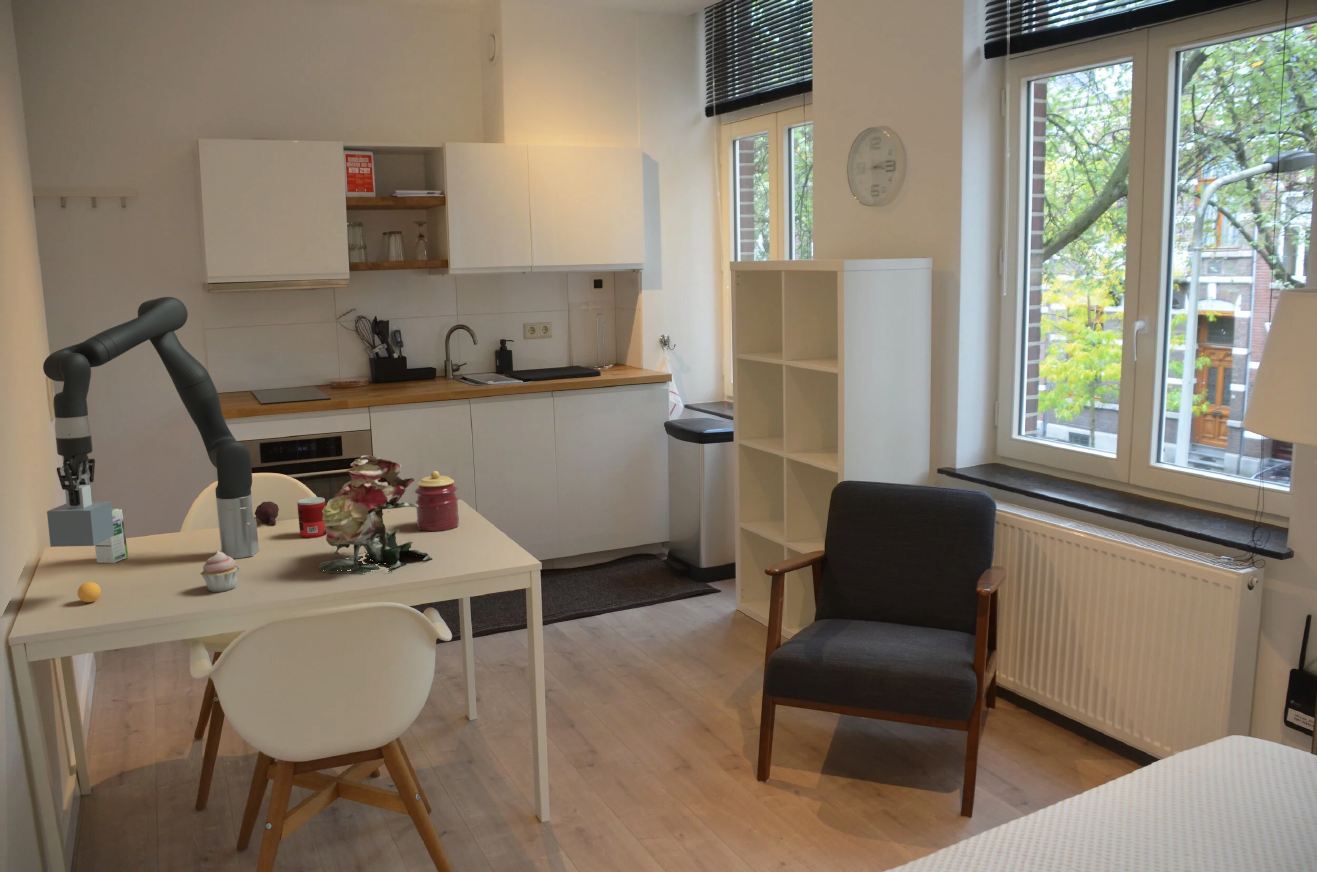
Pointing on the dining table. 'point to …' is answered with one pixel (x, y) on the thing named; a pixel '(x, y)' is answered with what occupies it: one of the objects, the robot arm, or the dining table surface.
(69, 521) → the cube with small cube
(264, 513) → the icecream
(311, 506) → the canned food
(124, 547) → the syrup box
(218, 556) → the cupcake
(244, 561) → the dining table surface
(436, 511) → the canister
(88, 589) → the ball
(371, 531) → the rose bouquet
